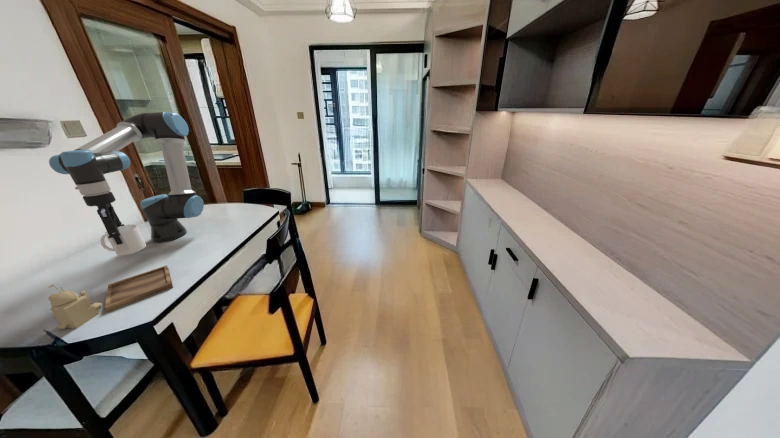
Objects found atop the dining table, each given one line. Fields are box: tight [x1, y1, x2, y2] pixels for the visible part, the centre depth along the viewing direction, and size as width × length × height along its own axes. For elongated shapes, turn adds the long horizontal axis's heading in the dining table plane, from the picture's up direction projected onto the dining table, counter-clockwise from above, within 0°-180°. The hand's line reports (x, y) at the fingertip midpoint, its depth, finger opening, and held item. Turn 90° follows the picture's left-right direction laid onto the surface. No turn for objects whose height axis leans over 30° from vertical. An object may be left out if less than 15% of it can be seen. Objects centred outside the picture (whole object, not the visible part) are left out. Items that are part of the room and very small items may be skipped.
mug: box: [100, 224, 147, 256], centre depth 101 cm, size 12×9×9 cm
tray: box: [104, 265, 174, 313], centre depth 98 cm, size 18×18×2 cm
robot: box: [47, 284, 103, 332], centre depth 81 cm, size 10×8×15 cm
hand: (124, 246), depth 101 cm, fingers closed on mug, 9 cm apart
